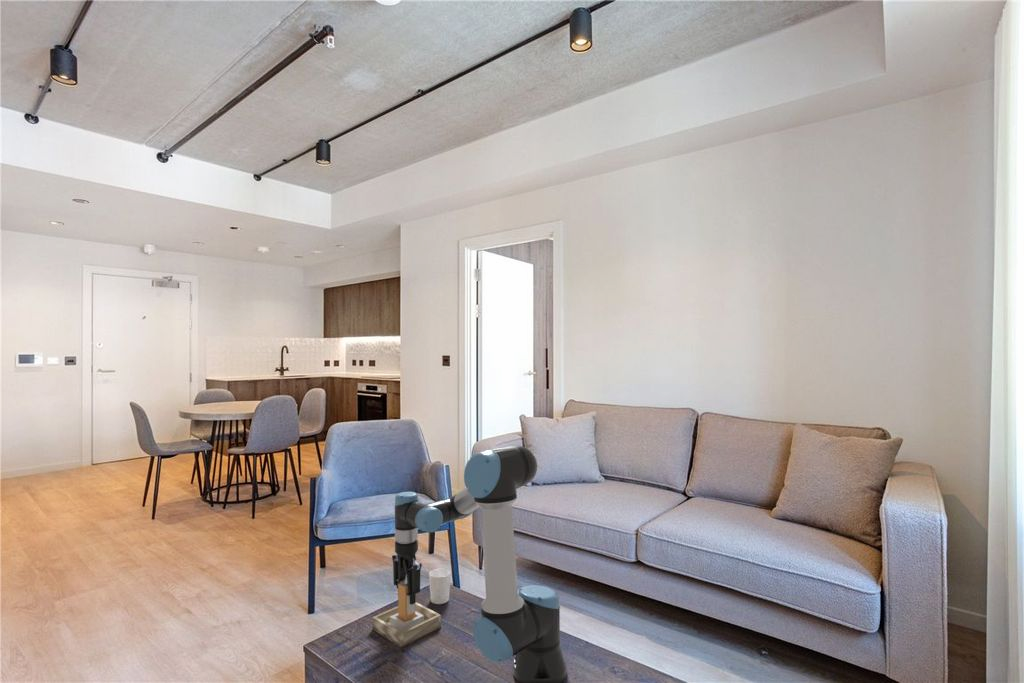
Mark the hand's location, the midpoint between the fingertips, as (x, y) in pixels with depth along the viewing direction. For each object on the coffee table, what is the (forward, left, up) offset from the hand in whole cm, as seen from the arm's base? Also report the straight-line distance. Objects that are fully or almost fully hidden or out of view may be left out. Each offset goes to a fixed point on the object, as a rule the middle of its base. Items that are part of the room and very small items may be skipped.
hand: (406, 610), depth 170 cm
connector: (0, 0, -3) cm, 3 cm away
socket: (0, 0, -6) cm, 6 cm away
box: (0, 0, -6) cm, 6 cm away
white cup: (+7, -20, -6) cm, 22 cm away
